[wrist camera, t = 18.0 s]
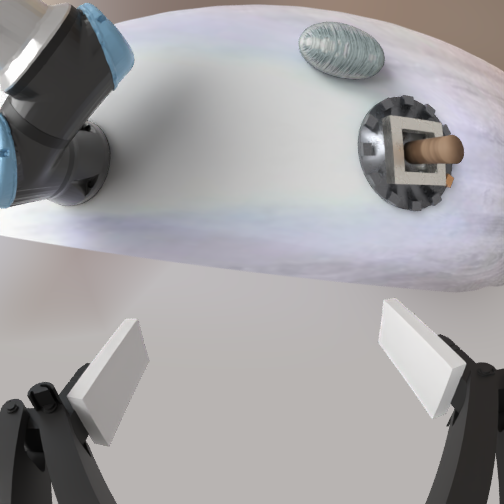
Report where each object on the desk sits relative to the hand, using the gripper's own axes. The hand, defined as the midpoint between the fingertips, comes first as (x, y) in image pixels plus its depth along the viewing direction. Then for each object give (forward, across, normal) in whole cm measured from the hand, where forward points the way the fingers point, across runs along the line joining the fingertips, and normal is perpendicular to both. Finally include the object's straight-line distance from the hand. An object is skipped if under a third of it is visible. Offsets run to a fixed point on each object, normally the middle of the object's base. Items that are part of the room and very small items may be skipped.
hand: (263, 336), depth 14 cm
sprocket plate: (+32, +28, +12) cm, 44 cm away
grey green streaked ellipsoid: (+32, +16, +28) cm, 46 cm away
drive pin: (+31, +28, +12) cm, 43 cm away
